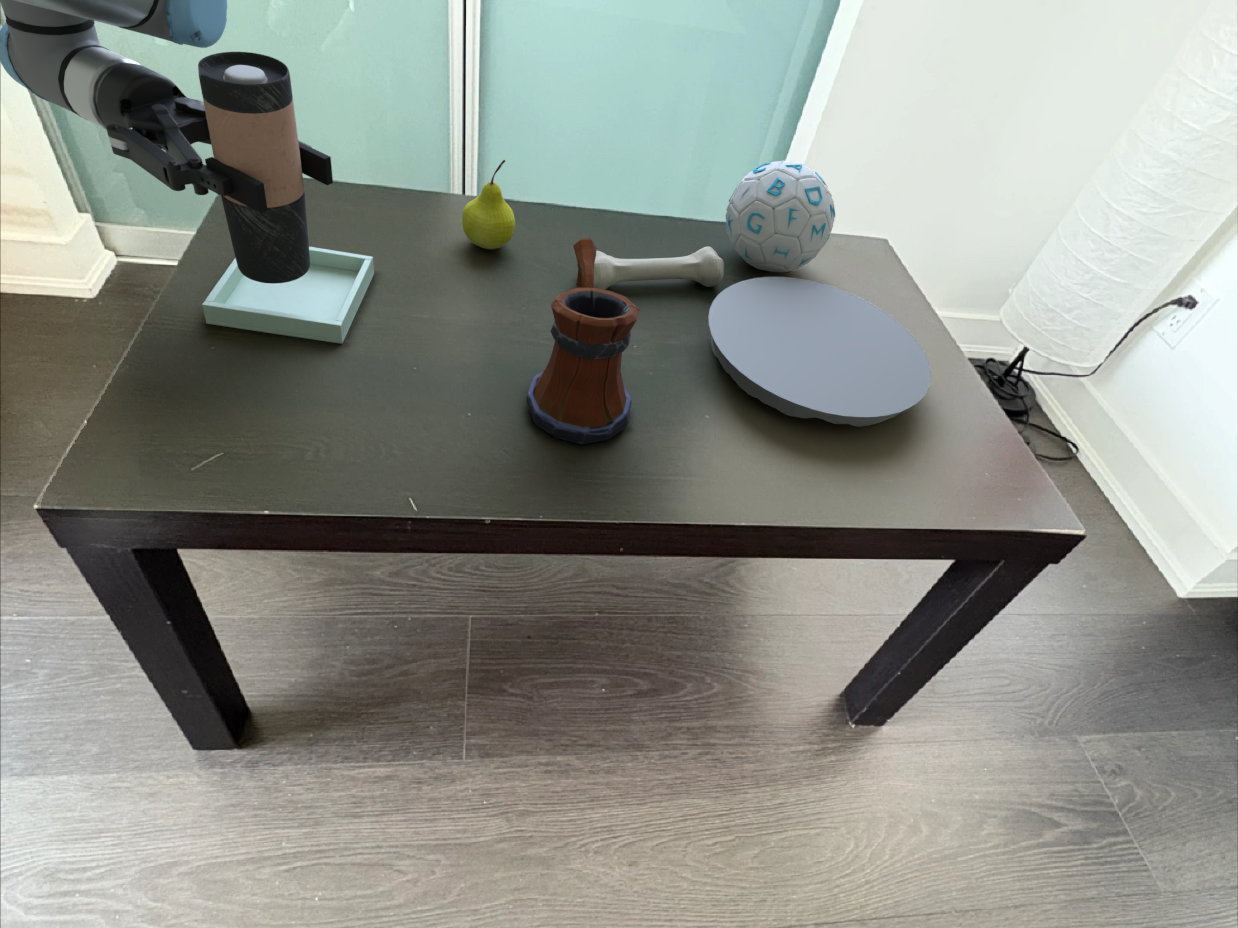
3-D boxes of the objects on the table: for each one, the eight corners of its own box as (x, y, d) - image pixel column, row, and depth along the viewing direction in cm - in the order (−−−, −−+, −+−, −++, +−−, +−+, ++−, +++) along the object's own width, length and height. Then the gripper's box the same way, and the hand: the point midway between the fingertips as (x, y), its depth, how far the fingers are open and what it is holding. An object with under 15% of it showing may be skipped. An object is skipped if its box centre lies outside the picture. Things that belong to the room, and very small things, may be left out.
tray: (342, 343, 88) (340, 325, 86) (206, 323, 86) (201, 304, 84) (374, 274, 98) (373, 256, 96) (253, 254, 97) (249, 236, 95)
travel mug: (327, 261, 86) (308, 68, 72) (282, 294, 80) (251, 92, 66) (267, 238, 87) (236, 43, 73) (218, 269, 81) (174, 65, 67)
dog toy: (585, 299, 102) (591, 266, 99) (573, 273, 106) (578, 240, 102) (724, 294, 109) (734, 263, 105) (708, 270, 113) (717, 239, 109)
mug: (522, 339, 94) (534, 225, 84) (616, 346, 96) (639, 235, 86) (527, 444, 82) (541, 326, 71) (635, 449, 84) (665, 335, 73)
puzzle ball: (830, 270, 119) (869, 176, 108) (780, 304, 110) (817, 205, 99) (748, 226, 124) (777, 132, 114) (694, 256, 115) (720, 156, 105)
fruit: (468, 261, 104) (472, 174, 95) (455, 234, 108) (457, 148, 100) (518, 257, 106) (526, 173, 98) (503, 231, 111) (510, 147, 102)
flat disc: (749, 454, 86) (761, 424, 83) (670, 305, 105) (678, 276, 101) (957, 437, 95) (975, 410, 92) (851, 303, 113) (863, 276, 110)
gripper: (219, 112, 90) (374, 187, 84) (43, 165, 76) (213, 259, 70) (206, 42, 84) (371, 116, 79) (15, 85, 71) (196, 179, 65)
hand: (296, 184), depth 74 cm, fingers closed on travel mug, 7 cm apart
